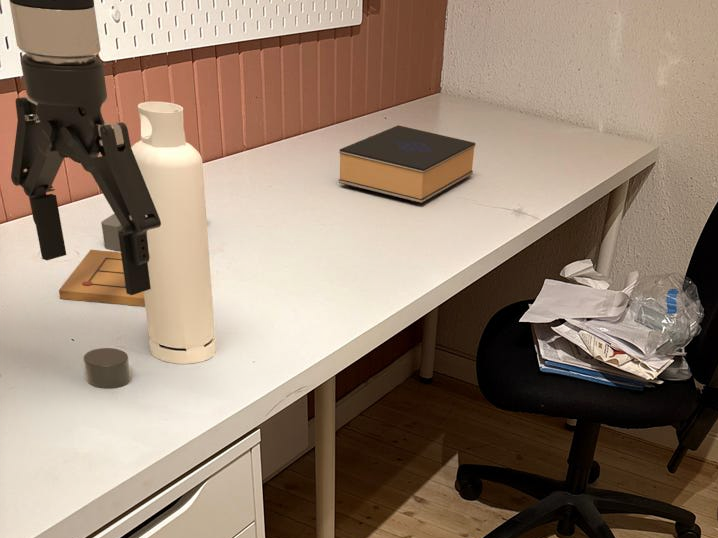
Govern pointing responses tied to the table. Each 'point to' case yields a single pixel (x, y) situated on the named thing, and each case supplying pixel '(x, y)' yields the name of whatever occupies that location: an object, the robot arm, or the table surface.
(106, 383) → the cylinder
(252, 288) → the table surface
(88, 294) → the board
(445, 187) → the book
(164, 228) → the bottle
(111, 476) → the table surface
